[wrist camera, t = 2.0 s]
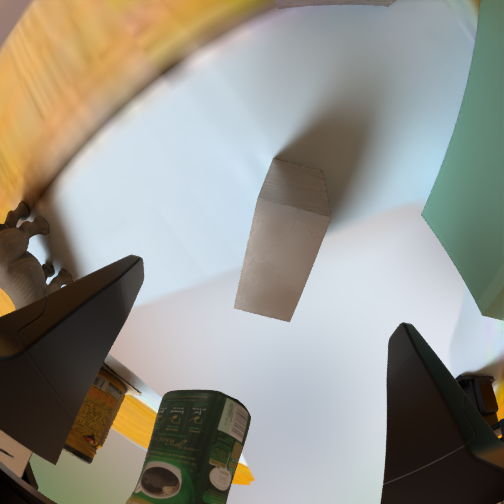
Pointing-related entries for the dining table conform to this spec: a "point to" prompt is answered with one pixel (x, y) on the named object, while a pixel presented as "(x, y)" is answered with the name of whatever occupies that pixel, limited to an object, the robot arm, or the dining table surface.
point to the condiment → (97, 414)
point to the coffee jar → (193, 449)
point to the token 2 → (331, 2)
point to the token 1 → (283, 240)
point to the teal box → (477, 172)
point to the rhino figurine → (25, 261)
